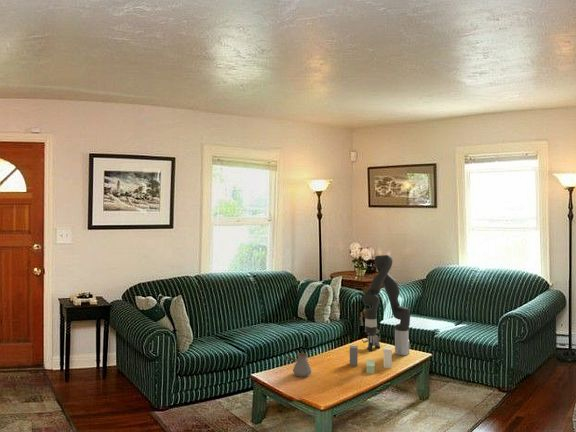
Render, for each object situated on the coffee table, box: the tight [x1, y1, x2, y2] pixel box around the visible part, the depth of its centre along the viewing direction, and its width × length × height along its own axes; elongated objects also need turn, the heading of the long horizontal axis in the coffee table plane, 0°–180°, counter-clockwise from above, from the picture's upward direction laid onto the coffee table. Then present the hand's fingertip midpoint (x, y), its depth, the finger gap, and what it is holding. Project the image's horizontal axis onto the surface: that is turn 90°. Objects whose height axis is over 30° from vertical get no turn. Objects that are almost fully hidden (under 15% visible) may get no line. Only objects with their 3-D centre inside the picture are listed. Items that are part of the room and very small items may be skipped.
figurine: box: [361, 328, 381, 350], centre depth 369 cm, size 9×12×15 cm
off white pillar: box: [382, 346, 393, 369], centre depth 329 cm, size 5×5×12 cm
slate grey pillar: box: [349, 345, 359, 367], centre depth 333 cm, size 5×5×12 cm
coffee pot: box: [285, 352, 312, 378], centre depth 309 cm, size 21×12×15 cm, turn 139°
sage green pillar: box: [366, 359, 376, 375], centre depth 323 cm, size 5×5×12 cm
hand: (370, 351), depth 327 cm, fingers closed
